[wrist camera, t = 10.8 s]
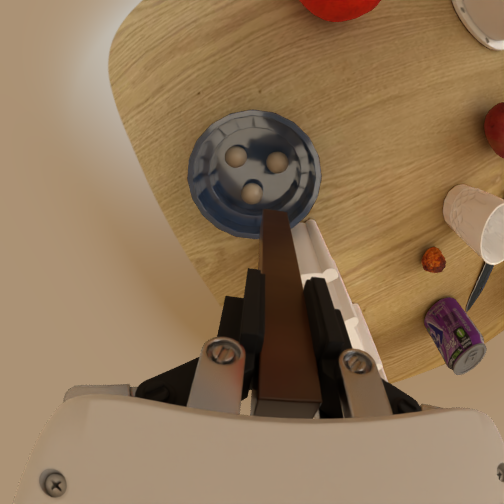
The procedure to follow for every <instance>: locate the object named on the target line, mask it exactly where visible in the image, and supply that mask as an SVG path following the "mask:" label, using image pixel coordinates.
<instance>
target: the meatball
mask: <svg viewBox="0 0 504 504" xmlns="http://www.w3.org/2000/svg"><path fill="white" fill-rule="evenodd" d="M441 253H442V252H441V251H440V250H439V249H438V248H436V247H432V248H430V249H428V250H427V251H426V253H425V254H424V255H423V257H422V261H421V262H422V266H423V268H424V270H425V271H429V272H434V273H438V272H442V270H443V269H444V268H445V263H446V261H445V258H444V256H443V255H442V254H441Z"/></svg>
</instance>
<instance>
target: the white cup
mask: <svg viewBox="0 0 504 504" xmlns="http://www.w3.org/2000/svg"><path fill="white" fill-rule="evenodd" d="M443 215H444V219H445V222H446V223H447V224H448V225H449V227H450V228H451V229H453V230H454V231H455V232H456V234H457V235H458V236H459V237H460V238H462V239H463V241H465V242H466V244H467V245H469V246H470V247H471V248H472V249H473V250H474V251H475V252H476V253H477V254H478V255H479V256H480V257H481V258H482V259H483V260H484V261H485V262H486V263H487V264H490V265H496V264H499V263H501V262H502V261H504V199H501V198H499V197H497V196H495V195H493V194H491V193H488V192H485V191H483V190H480V189H476V188H473V187H470V186H468V185H465V184H461V185H456V186H455V187H453V188H452V189H451V190H450V191H449V192H448V194H447V196H446V198H445V200H444V206H443Z"/></svg>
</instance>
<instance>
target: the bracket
mask: <svg viewBox="0 0 504 504" xmlns="http://www.w3.org/2000/svg"><path fill="white" fill-rule="evenodd" d="M291 233H292V237H293V242H294V247H295V251H296V256H297V261H298V266H299V271H300V275H301V280H302V285H303V289H304V286H305V282H306V280H307V279H309V280H310V279H311V277H319V278H325V280H326V283H327V286H328V289H329V293H330V296H331V299H332V302H333V305H334V308H335V309H339V310H340V311H341V314H342V317H343V320H344V323H345V326H346V329H347V332H348V335H349V339H350V342H351V345H352V348H354V349H360V350H362V351H365V352H366V353H368V354H369V355H370V356H371V357H372V358H373V359H374V361H375V363H376V365H377V368H378V371H379V374H380V377H381V378H382V379H384V380H385V381H387V378H386V375H385V372H384V369H383V365H382V362H381V360H380V357H379V354H378V352H377V349H376V347H375V344H374V341H373V339H372V336H371V334H370V331H369V329H368V326H367V324H366V321H365V319H364V317H363V314H362V312H361V309H360V307H359V305H358V304H356V303H354V304H352V302H351V300H350V297H349V295H348V292H347V290H346V287H345V285H344V283H343V280H342V278H341V275H340V273H339V271H338V268H337V266H336V264H335V261H334V260H333V259H332V257H331V255H330V253H329V251H328V248H327V246H326V244H325V241H324V239H323V237H322V235H321V233H320V230H319V228H318V226H317V224H316V222H315V221H314V220H313V219H309V220H307V221H306V223H298V224H297V225H296V226H295V227H294V228H292V229H291ZM387 382H388V381H387Z"/></svg>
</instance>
